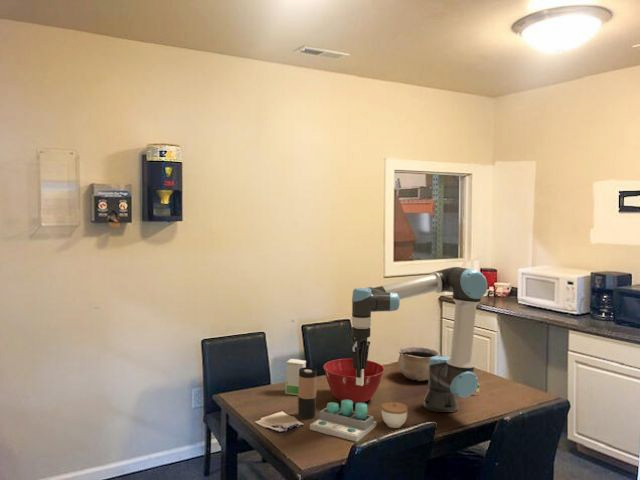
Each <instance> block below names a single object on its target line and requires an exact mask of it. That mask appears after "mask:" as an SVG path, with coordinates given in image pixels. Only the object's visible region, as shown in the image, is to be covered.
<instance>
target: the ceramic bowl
mask: <svg viewBox="0 0 640 480" xmlns="http://www.w3.org/2000/svg"><path fill="white" fill-rule="evenodd" d="M398 352H399V356H398V359H397V361H398V362H397V363H398V369H399V370H400V371H401V373H402V375H403V376H404V377H405V378H407V379H408V380H410V379H411V380H410V381H414V380H417V381H416V382H425V380H426V381H428V378H429V360H430V358H432V357H437V356H441V353H440V352H438V351H436V350H435V349H430V348H427V347H419V346H417V347H416V346H407V347H400V348H399V350H398Z"/></svg>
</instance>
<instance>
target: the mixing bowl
mask: <svg viewBox="0 0 640 480" xmlns="http://www.w3.org/2000/svg"><path fill="white" fill-rule="evenodd" d="M365 367H367V368H366V369H364V385H363V386H360V385H356V369H354V368H353V359H352V358H339V359H334V360H333V359H332V360H331V361H330V360H329V361H327V362H326V363H325V364H324V365H323V367H322V368H323V370H324V373H325V377H326V381H327V384H328V386H329V388H330V391H331V393H332V395H333V396H334V397H335V398H336V399H338V400H339V401H340V402H341V401H342V400H352V401H353V405H355V404H356V403H366V402H368V401H369V400H371V399H372V398H373V397H374V395H375V394H376V392H377V390H378V389H379V386H380V383H381V381H382V378H383V375H384V372H385V367H384V366H383V365H382V364H380V363H378V362H375V361H371V360H368V359H367V365H366V366H365Z"/></svg>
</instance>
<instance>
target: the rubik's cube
mask: <svg viewBox="0 0 640 480" xmlns="http://www.w3.org/2000/svg"><path fill="white" fill-rule="evenodd" d="M480 387H481V385H480V383H478V387H477V389H476V391H475V392H474V393H476V392H479V393H480Z"/></svg>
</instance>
